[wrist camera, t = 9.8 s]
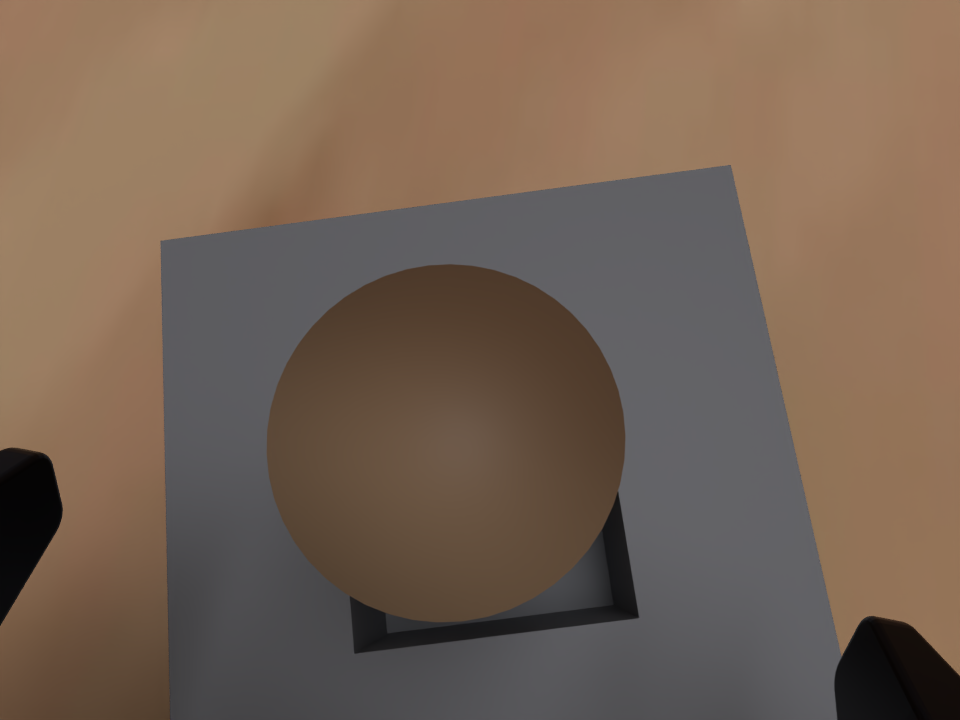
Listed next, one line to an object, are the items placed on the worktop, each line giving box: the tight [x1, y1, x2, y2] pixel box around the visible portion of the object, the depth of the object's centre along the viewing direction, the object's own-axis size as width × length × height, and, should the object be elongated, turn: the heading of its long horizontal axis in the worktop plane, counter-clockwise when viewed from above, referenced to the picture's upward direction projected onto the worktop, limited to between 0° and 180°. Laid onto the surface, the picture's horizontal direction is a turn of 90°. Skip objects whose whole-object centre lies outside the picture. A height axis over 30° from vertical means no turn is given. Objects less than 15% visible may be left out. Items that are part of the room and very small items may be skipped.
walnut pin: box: [267, 264, 626, 622], centre depth 13 cm, size 4×4×11 cm
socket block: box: [161, 165, 841, 720], centre depth 17 cm, size 12×12×4 cm
